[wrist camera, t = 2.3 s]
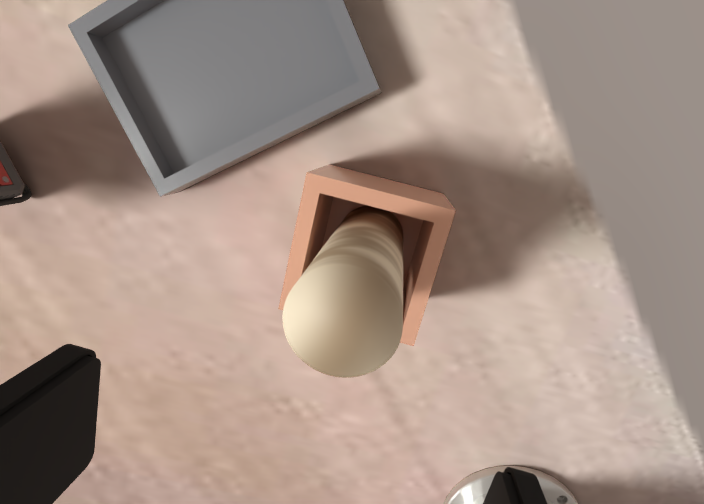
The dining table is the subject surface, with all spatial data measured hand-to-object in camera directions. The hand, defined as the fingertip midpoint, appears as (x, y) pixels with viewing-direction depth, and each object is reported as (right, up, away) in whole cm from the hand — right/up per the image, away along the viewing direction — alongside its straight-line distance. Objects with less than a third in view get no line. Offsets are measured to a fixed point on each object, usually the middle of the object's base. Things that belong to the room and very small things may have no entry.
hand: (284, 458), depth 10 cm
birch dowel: (+3, +6, +23) cm, 24 cm away
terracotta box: (+3, +6, +24) cm, 25 cm away
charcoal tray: (-7, +19, +22) cm, 30 cm away
